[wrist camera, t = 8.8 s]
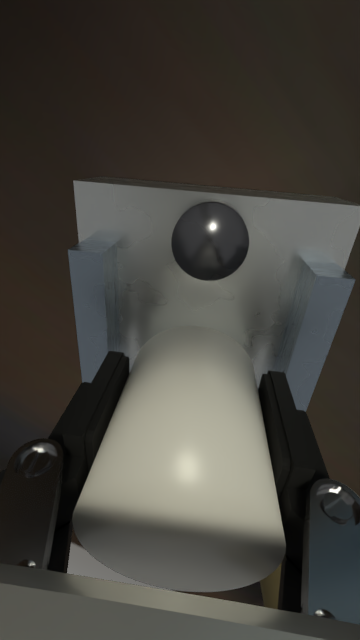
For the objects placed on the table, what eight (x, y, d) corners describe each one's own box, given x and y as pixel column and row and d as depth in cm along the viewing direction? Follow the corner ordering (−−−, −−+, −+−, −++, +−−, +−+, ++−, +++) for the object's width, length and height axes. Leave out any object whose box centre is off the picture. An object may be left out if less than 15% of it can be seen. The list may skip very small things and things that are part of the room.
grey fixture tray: (102, 176, 13) (50, 183, 9) (334, 197, 12) (391, 214, 8) (113, 409, 20) (86, 473, 16) (264, 429, 19) (277, 501, 15)
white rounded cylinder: (133, 318, 11) (60, 458, 6) (267, 334, 11) (314, 495, 6) (133, 438, 14) (86, 598, 9) (237, 452, 14) (249, 627, 9)
